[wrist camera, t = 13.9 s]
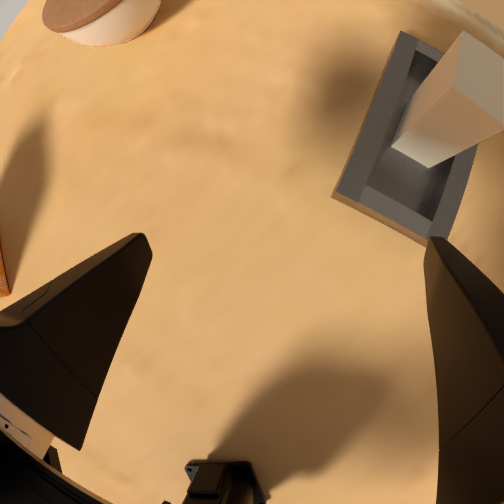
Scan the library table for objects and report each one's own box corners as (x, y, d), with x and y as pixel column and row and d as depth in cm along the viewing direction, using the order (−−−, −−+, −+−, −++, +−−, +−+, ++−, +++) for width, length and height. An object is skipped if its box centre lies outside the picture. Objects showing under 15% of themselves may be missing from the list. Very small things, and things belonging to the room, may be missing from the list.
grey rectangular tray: (426, 247, 20) (443, 249, 17) (330, 197, 21) (335, 191, 18) (473, 97, 19) (489, 83, 16) (391, 49, 20) (400, 30, 17)
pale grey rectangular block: (428, 168, 19) (507, 128, 9) (390, 146, 19) (450, 87, 9) (443, 123, 19) (514, 67, 9) (407, 102, 19) (463, 30, 9)
